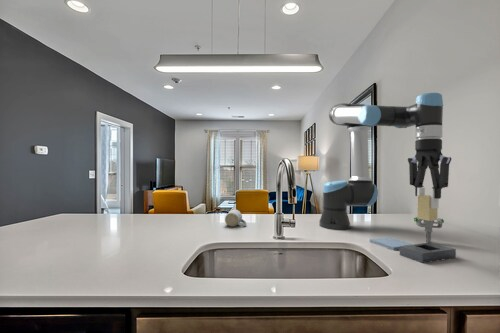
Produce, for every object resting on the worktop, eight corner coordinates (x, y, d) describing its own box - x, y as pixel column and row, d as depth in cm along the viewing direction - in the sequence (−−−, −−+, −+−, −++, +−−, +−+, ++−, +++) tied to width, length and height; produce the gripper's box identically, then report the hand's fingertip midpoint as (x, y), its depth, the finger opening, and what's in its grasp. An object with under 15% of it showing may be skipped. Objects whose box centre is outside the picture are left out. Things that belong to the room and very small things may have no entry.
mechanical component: (444, 244, 100) (444, 219, 101) (416, 242, 103) (416, 217, 103) (440, 242, 103) (440, 217, 104) (413, 240, 105) (413, 216, 106)
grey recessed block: (399, 254, 87) (399, 246, 87) (431, 250, 92) (431, 242, 92) (422, 263, 79) (422, 253, 79) (455, 257, 85) (455, 248, 85)
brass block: (417, 218, 87) (417, 195, 87) (425, 217, 88) (425, 195, 88) (429, 220, 83) (429, 196, 83) (437, 220, 85) (437, 196, 85)
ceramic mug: (223, 226, 124) (224, 211, 124) (227, 223, 132) (228, 208, 132) (245, 228, 122) (245, 212, 122) (247, 224, 130) (248, 209, 130)
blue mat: (369, 241, 102) (369, 239, 102) (389, 239, 106) (389, 237, 106) (393, 250, 92) (393, 247, 92) (414, 247, 95) (414, 244, 95)
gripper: (398, 140, 93) (397, 203, 93) (448, 135, 77) (446, 211, 77) (412, 141, 95) (411, 203, 95) (463, 137, 79) (462, 210, 79)
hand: (427, 206), depth 86 cm, fingers closed on brass block, 4 cm apart
